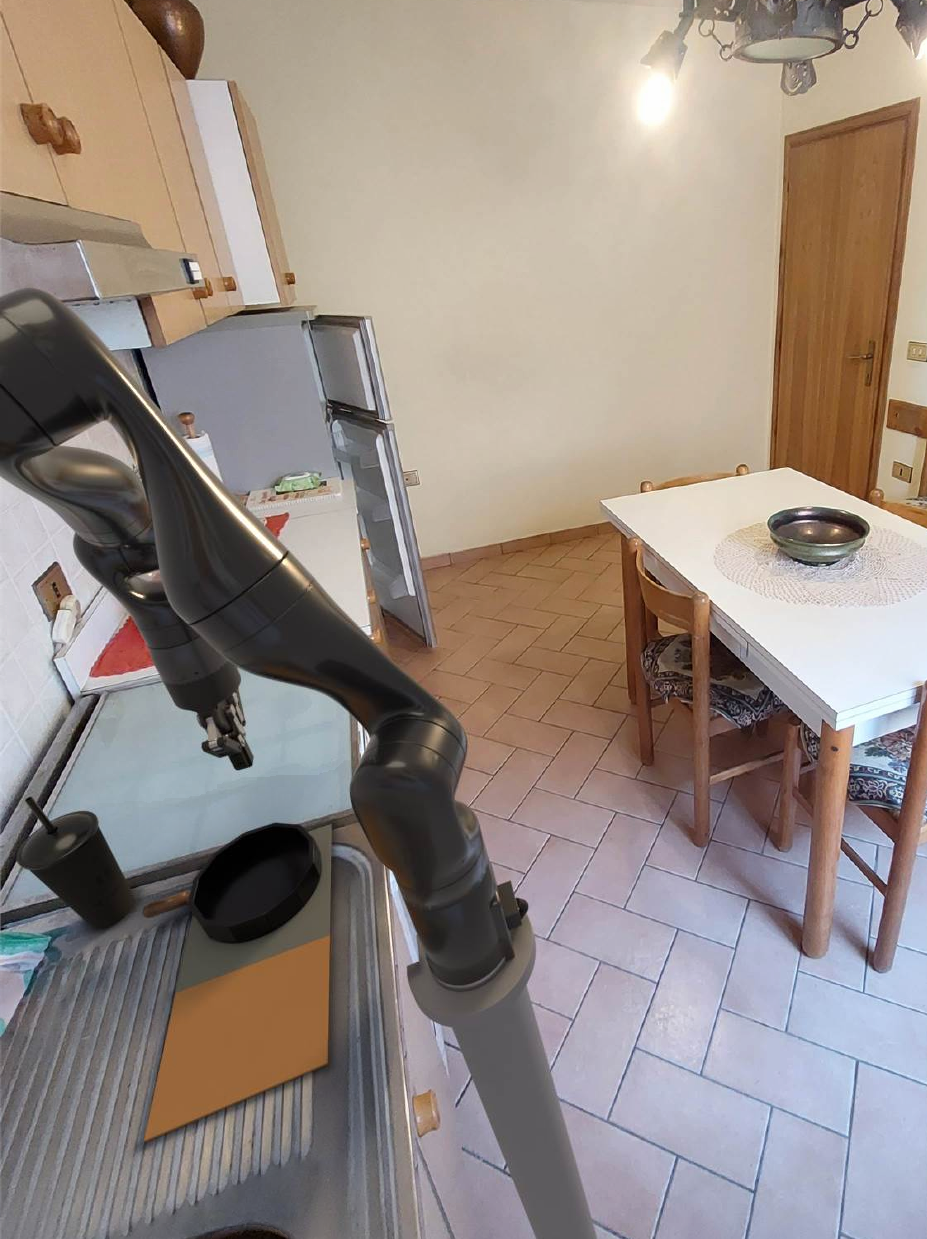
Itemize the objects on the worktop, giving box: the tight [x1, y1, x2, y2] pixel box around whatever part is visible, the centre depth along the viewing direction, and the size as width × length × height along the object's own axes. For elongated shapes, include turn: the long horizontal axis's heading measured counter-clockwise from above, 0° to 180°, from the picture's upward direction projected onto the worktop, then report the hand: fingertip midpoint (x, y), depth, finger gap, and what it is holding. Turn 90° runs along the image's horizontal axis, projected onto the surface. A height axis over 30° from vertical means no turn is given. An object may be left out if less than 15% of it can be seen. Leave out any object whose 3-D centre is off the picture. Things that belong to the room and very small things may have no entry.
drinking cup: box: [16, 796, 136, 930], centre depth 77 cm, size 8×8×20 cm
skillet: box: [142, 822, 322, 944], centre depth 81 cm, size 19×14×4 cm
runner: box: [143, 823, 333, 1143], centre depth 75 cm, size 16×31×1 cm, turn 20°
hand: (245, 764), depth 88 cm, fingers closed
